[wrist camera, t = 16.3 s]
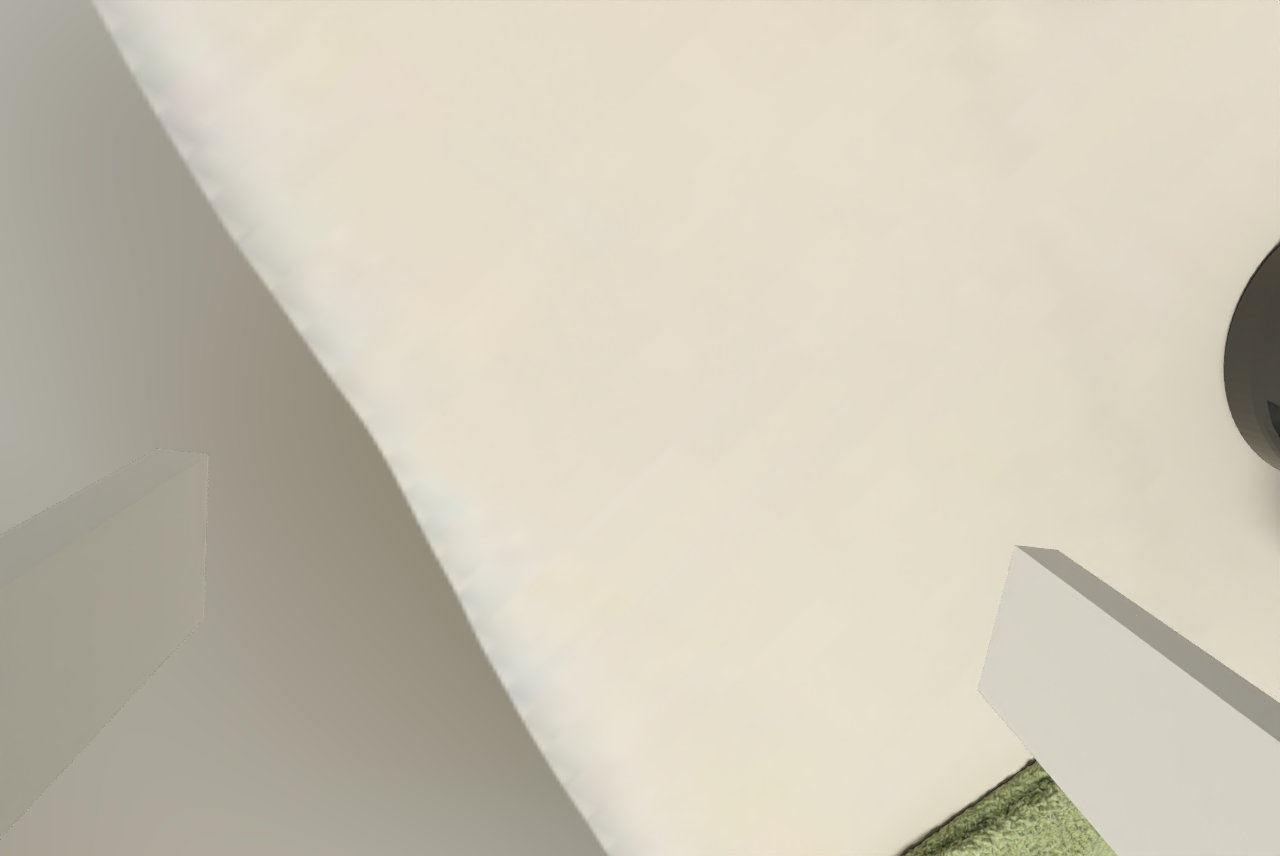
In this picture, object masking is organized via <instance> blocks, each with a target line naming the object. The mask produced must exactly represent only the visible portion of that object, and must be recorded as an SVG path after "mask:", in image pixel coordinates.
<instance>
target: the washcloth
mask: <svg viewBox="0 0 1280 856" xmlns="http://www.w3.org/2000/svg"><path fill="white" fill-rule="evenodd" d="M902 856H1118V855H1117V854H1116V853H1115V852H1114V851H1113V850H1112V848H1111V847H1110V846H1109V845H1108V844H1107V843H1106V841H1105V840H1104V839H1103V838H1102V837H1101V835H1100V834H1099V833H1098V832H1097V831H1096V830H1095V828H1094V827H1093V826H1092V825H1091V824H1090V823H1089V821H1088V820H1087V819H1086V818H1085V817H1084V815H1083V814H1082V813H1081V812H1080V811H1079V810H1078V808H1077V807H1076V806H1075V805H1074V804H1073V803H1072V801H1071V800H1070V799H1069V798H1068V797H1067V795H1066V794H1065V793H1064V792H1063V791H1062V790H1061V788H1060V787H1059V786H1058V785H1057V784H1056V783H1055V781H1054V780H1053V779H1052V778H1051V777H1050V775H1049V774H1048V773H1047V772H1046V771H1045V770H1044V768H1043V767H1042V766H1041V765H1040V764H1039V763H1038V761H1037V760H1036V761H1035V763H1033V764H1032V765H1031V766H1027V768H1025V769H1024V770H1023V771H1020V772H1018V773H1017V774H1016V775H1015V776H1014V777H1013V778H1012V779H1011V780H1009V781H1008V782H1007V783H1006V784H1003V785H1002V786H1001V787H998V788H997V789H996V790H995V791H993V792H991V793H990V794H989V795H988V796H986V797H984V798H983V799H982V800H981V801H980V802H978V803H976V805H975V806H973V807H970V808H968V809H966V810H965V812H964V813H962V814H961V815H959V816H957V817H955V818H954V820H953V821H950V823H949V824H947V825H945V826H944V827H942V828H940V830H939V832H935V833H934V834H933V835H932V836H930V837H929V838H927V839H925V840H924V841H923V842H922V843H921V844H920V845H918V846H916V847H915V848H914V849H910V850H908V853H907V854H906V855H902Z"/></svg>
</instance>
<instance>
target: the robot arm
mask: <svg viewBox="0 0 1280 856" xmlns="http://www.w3.org/2000/svg"><path fill="white" fill-rule="evenodd" d="M1224 381H1225V391H1226V396H1227V401H1228V405H1229V409H1230V411H1231V414H1232V417H1233V419H1234V422H1235V424H1236V426H1237V428H1238V430H1239V431H1240V433H1241V435H1242V436H1243V438H1244V439H1245V441H1246V442H1247V443H1248V445H1249V446H1250V447H1251V448H1252V449H1253V450H1254V451H1255V452H1256V453H1257V454H1258V455H1259V456H1260V457H1261V458H1262V459H1263V460H1265V461H1266V462H1267V463H1269V464H1270V465H1272V466H1273V467H1275V468H1277V469H1278V470H1280V246H1279V247H1278V248H1277V249H1276V250H1275V251H1274V252H1273V253H1272V254H1271V255H1270V256H1269V258H1268V259H1267V260H1266V261H1265V262H1264V264H1263V265H1262V266H1261V268H1260V269H1259V270H1258V272H1257V273H1256V275H1255V276H1254V278H1253V279H1252V281H1251V282H1250V284H1249V286H1248V287H1247V289H1246V291H1245V293H1244V295H1243V297H1242V299H1241V301H1240V303H1239V305H1238V308H1237V310H1236V312H1235V315H1234V318H1233V321H1232V324H1231V327H1230V331H1229V335H1228V339H1227V344H1226V351H1225V360H1224ZM208 470H209V454H200V453H191V452H183V451H174V450H165V449H155V450H153V451H151V452H149V453H148V454H146V455H144V456H142V457H140V458H139V459H137V460H135V461H133V462H131V463H129V464H128V465H126V466H124V467H122V468H120V469H119V470H117V471H115V472H113V473H111V474H109V475H108V476H106V477H104V478H102V479H100V480H99V481H97V482H95V483H93V484H91V485H90V486H88V487H86V488H84V489H82V490H80V491H79V492H77V493H75V494H73V495H71V496H70V497H68V498H66V499H64V500H62V501H61V502H59V503H57V504H55V505H53V506H51V507H50V508H48V509H46V510H44V511H42V512H41V513H39V514H37V515H35V516H33V517H32V518H30V519H28V520H26V521H24V522H22V523H21V524H19V525H17V526H15V527H13V528H12V529H10V530H8V531H6V532H4V533H3V534H1V535H0V839H1V838H2V837H3V836H4V835H5V833H7V832H8V830H9V829H10V828H11V827H12V826H13V825H14V824H15V823H16V822H17V821H18V819H19V818H20V817H21V816H22V815H23V814H24V813H25V812H26V811H27V810H28V809H29V808H30V807H31V806H32V804H33V803H34V802H35V801H36V800H37V799H38V798H39V797H40V796H41V795H42V794H43V793H44V792H45V790H46V789H47V788H48V787H49V786H50V785H51V784H52V783H53V782H54V781H55V780H56V779H57V777H58V776H59V775H60V774H61V773H62V772H63V771H64V770H65V769H66V768H67V767H68V765H69V764H70V763H71V762H72V761H73V760H74V759H75V758H76V757H77V756H78V755H79V754H80V752H81V751H82V750H83V749H84V748H85V747H86V746H87V745H88V744H89V743H90V742H91V741H92V740H93V739H94V737H95V736H96V735H97V734H98V733H99V732H100V731H101V730H102V729H103V728H104V727H105V726H106V724H107V723H108V722H109V721H110V720H111V719H112V718H113V717H114V716H115V715H116V714H117V712H119V710H120V709H121V708H122V707H123V706H124V705H125V704H126V703H127V702H128V701H129V700H130V698H131V697H132V696H133V695H134V694H135V693H136V692H137V691H138V690H139V689H140V688H141V687H142V686H143V684H144V683H145V682H146V681H147V680H148V679H149V678H150V677H151V676H152V675H153V674H154V672H156V670H157V669H158V668H159V667H160V666H161V665H162V664H163V663H164V662H165V661H166V660H167V658H168V657H169V656H170V655H171V654H172V653H173V652H174V651H175V650H176V649H177V648H178V647H179V646H180V644H181V643H182V642H183V641H184V640H185V639H186V638H187V637H188V636H189V635H190V633H192V631H193V630H194V629H195V628H196V627H197V626H198V625H199V624H200V623H201V622H202V621H203V620H204V615H205V578H206V543H207V542H206V541H207V507H208V506H207V505H208ZM977 691H978V692H979V693H980V694H981V695H982V697H983V698H984V699H985V700H986V701H987V703H988V704H989V705H990V706H991V707H992V708H993V710H994V711H995V712H996V713H997V714H998V715H999V717H1000V718H1001V719H1002V720H1003V721H1004V723H1005V724H1006V725H1007V726H1008V727H1009V728H1010V730H1011V731H1012V732H1013V733H1014V734H1015V735H1016V737H1017V738H1018V739H1019V740H1020V741H1021V743H1022V744H1023V745H1024V746H1025V747H1026V748H1027V750H1028V751H1029V752H1030V753H1031V754H1032V755H1033V757H1034V758H1035V759H1036V760H1037V761H1038V763H1039V764H1040V765H1041V766H1042V767H1043V768H1044V770H1045V771H1046V772H1047V773H1048V774H1049V775H1050V777H1051V778H1052V779H1053V780H1054V781H1055V783H1056V784H1057V785H1058V786H1059V787H1060V788H1061V790H1062V791H1063V792H1064V793H1065V794H1066V795H1067V797H1068V798H1069V799H1070V800H1071V801H1072V803H1073V804H1074V805H1075V806H1076V807H1077V808H1078V810H1079V811H1080V812H1081V813H1082V814H1083V815H1084V817H1085V818H1086V819H1087V820H1088V821H1089V823H1090V824H1091V825H1092V826H1093V827H1094V828H1095V830H1096V831H1097V832H1098V833H1099V834H1100V835H1101V837H1102V838H1103V839H1104V840H1105V841H1106V843H1107V844H1108V845H1109V846H1110V847H1111V848H1112V850H1113V851H1114V852H1115V853H1116V854H1117V855H1118V856H1280V703H1279V702H1277V701H1276V700H1274V699H1273V698H1271V697H1270V696H1269V695H1267V694H1266V693H1264V692H1263V691H1261V690H1260V689H1258V688H1257V687H1255V686H1254V685H1253V684H1251V683H1250V682H1248V681H1247V680H1245V679H1244V678H1242V677H1241V676H1240V675H1238V674H1237V673H1235V672H1234V671H1232V670H1231V669H1229V668H1228V667H1226V666H1225V665H1224V664H1222V663H1221V662H1219V661H1218V660H1216V659H1215V658H1213V657H1212V656H1211V655H1209V654H1208V653H1206V652H1205V651H1203V650H1202V649H1200V648H1199V647H1197V646H1196V645H1195V644H1193V643H1192V642H1190V641H1189V640H1187V639H1186V638H1184V637H1183V636H1181V635H1180V634H1179V633H1177V632H1176V631H1174V630H1173V629H1171V628H1170V627H1168V626H1167V625H1166V624H1164V623H1163V622H1161V621H1160V620H1158V619H1157V618H1155V617H1154V616H1152V615H1151V614H1150V613H1148V612H1147V611H1145V610H1144V609H1142V608H1141V607H1139V606H1138V605H1137V604H1135V603H1134V602H1132V601H1131V600H1129V599H1128V598H1126V597H1125V596H1123V595H1122V594H1121V593H1119V592H1118V591H1116V590H1115V589H1113V588H1112V587H1110V586H1109V585H1107V584H1106V583H1105V582H1103V581H1102V580H1100V579H1099V578H1097V577H1096V576H1094V575H1093V574H1092V573H1090V572H1089V571H1087V570H1086V569H1084V568H1083V567H1081V566H1080V565H1078V564H1077V563H1076V562H1074V561H1073V560H1071V559H1070V558H1068V557H1067V556H1065V555H1064V554H1063V553H1061V552H1060V551H1058V550H1053V549H1044V548H1035V547H1026V546H1017V545H1015V548H1014V552H1013V556H1012V559H1011V563H1010V567H1009V571H1008V575H1007V579H1006V582H1005V586H1004V590H1003V594H1002V598H1001V602H1000V606H999V609H998V613H997V617H996V621H995V625H994V629H993V633H992V636H991V640H990V644H989V648H988V652H987V656H986V659H985V663H984V667H983V671H982V675H981V679H980V683H979V686H978V690H977Z"/></svg>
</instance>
